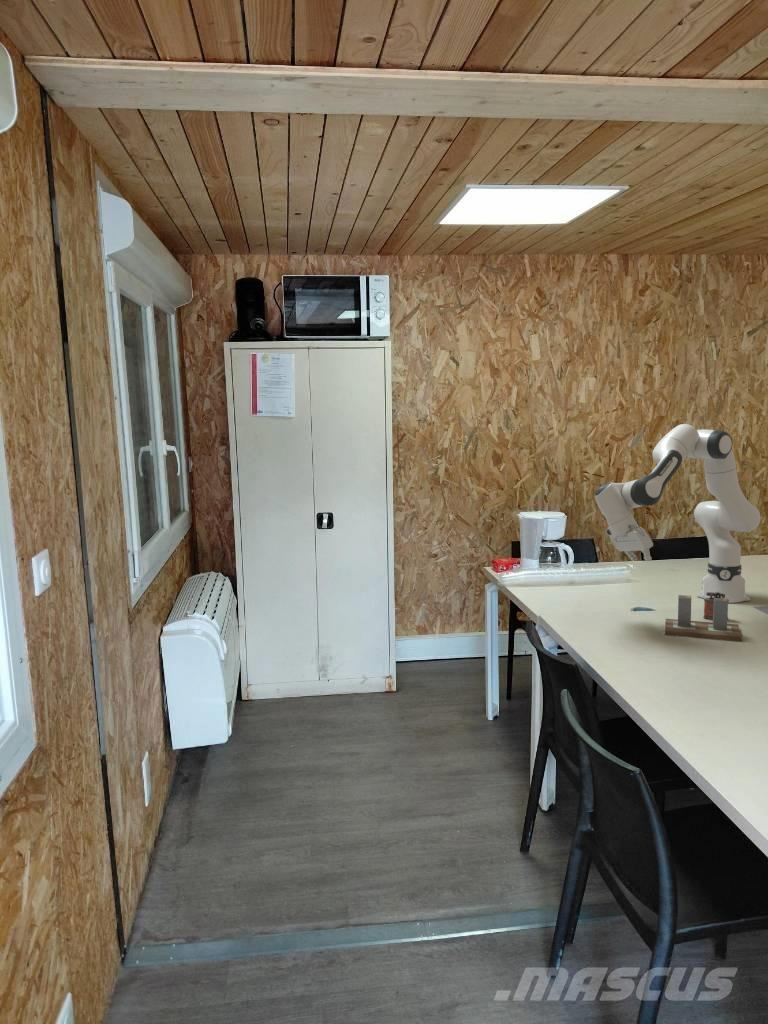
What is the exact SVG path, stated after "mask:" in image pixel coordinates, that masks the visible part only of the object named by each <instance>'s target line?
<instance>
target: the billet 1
mask: <svg viewBox="0 0 768 1024" xmlns="http://www.w3.org/2000/svg"><path fill="white" fill-rule="evenodd" d="M677 620H678V626H680V627H691V621H692V595H685V594H684V595H681V594H678V604H677Z"/></svg>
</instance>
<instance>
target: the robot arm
mask: <svg viewBox="0 0 768 1024" xmlns="http://www.w3.org/2000/svg"><path fill="white" fill-rule="evenodd" d="M733 445H734V444H733V439H732V436H731V435H730V433H729V432H727V431H725V430H721V429H715V430H714V429H706V428H705V429H696V428H695V427H694V426H693V425H691V424H688V423H681V424H678V425H677V426H675V427H674V428H673V429H671V430H670V431H668V432H667V433H666V434H665V435H664V436H663V437H662V438H661V439H660V440H659V441H658V443H656V445H655V447H654V448H653V450H652V459H653V461H654V463H655V464H656V466H655V467H654V468H653V469H652V471H651V472H650V473H649V474H647V475H646V476H643V477H639V478H638V479H634V480H630V481H627V482H613V481H608V482H605V483H603V484H602V485H600V486H599V487H598V488H597V489H595V491H594V500H595V502H596V504H597V507H598V508H599V511H600V513H601V514H602V515H603V517H604V518H605V520H606V523H607V525H608V528H607V529H605V533H606V535H607V536H609V538H610V541H611V542H612V544H613V546H614V547H615V549H616V550H617V551H619V552H624V553H625V554H626V555H627V557H629V558H630V561H632V562H636V561H638V559H639V558H638V557H637V555H636V554H635V553H634V552H637V551H638V552H639V551H641V553H643V559H644V560H645V562H650V561H652V559H653V557H652V556H651V553H650V549H651V548H653V547H654V542H653V540H652V539H651V537H650V535H649V534H648V532H647V531H646V530H645V528H643V527H641V526H639V524H638V523H637V521H636V519H635V518H634V516H633V514H632V512H631V510H632V509H637V508H641V507H648V506H649V507H650V506H654V505H656V504H657V503H658V502H659V501H660V500H661V498H662V496H663V493H664V489H665V487H666V485H667V484H668V483H669V481H670V480H671V478H672V477H673V476H674V475H675V473H676V472H677V471H678V469H679V468H680V467H681V465H682V463H683V462H684V461H685V460H686V459H688V458H689V459H695V460H696V459H697V460H703V469H704V476H705V484H706V489H707V491H708V492H709V493H710V494H711V495H713V496H714V497H715V498H716V500H706V501H701V502H698V504H697V505H696V507H695V508H694V513H693V515H694V520H695V522H696V523H697V524H698V525H699V526H700V527H701V528H702V530H703V531H704V533H705V536H706V538H707V543H708V551H709V552H708V553H709V554H708V555H709V558H708V561H709V562H708V563H707V574H706V575H704V577H703V578H702V579H701V584H702V587H701V588H702V589H701V590H700V591H699V592H698V593H697V598H701V599H704V598H710V596H706V593H707V592H714V593H715V592H719V593H725V598H727V599H729V602H728V604H731V603H732V604H734V603H735V604H737V603H741V602H746V601H751V597H750V596H749V595H748V594H746V579H745V578H744V577H743V576H742V575H741V574H742V570H743V568H742V564H741V557H742V556H741V553H742V547H741V544H740V543H739V542H738V541H737V540H736V539H734V537H733V536H732V535H731V532H738V533H739V532H740V533H741V532H743V533H744V532H752V531H755V530H756V529H757V528H758V526H759V525H760V522H761V519H762V518H761V513H760V511H759V509H758V507H756V506H755V505H753V504H752V503H751V502H750V501H749V500H748V499H747V497H746V496H745V495H744V493H743V491H742V489H741V486H740V483H739V477H738V476H739V475H738V470H737V469H738V468H737V464H736V459H735V454H734V451H733ZM712 597H714V596H712ZM721 598H722V596H721Z"/></svg>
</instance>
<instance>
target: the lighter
mask: <svg viewBox="0 0 768 1024" xmlns="http://www.w3.org/2000/svg"><path fill="white" fill-rule="evenodd" d="M706 596H710V598H703V600H704V606H703V607H704V608H703V609H704V610H703V619H704V620H709V621H713V611H714V598H721V596H722V598H725V593H719V592H715V593H714V592H707V593H706ZM712 596H714V597H712ZM727 600H728V602H729V599H727ZM728 613H729V612H727V621H728V620H729V616H728V615H729V614H728Z"/></svg>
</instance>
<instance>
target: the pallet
mask: <svg viewBox="0 0 768 1024" xmlns="http://www.w3.org/2000/svg"><path fill="white" fill-rule="evenodd" d="M665 634H669V636H676V635H678V637H687V636H688V638H689V637H691V638H701V639H709V638H710V639H709V640H712V639H713V640H720V639H721V640H723V641H732V642H742V638H743V637H742V634H741V630H740V626H739V624H737V623H727V631H725V630H713V621H702V620H701V621H700V620H691V627H680V626H678V618H677V619H676V618H665V625H664V635H665ZM721 640H720V641H721Z"/></svg>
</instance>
